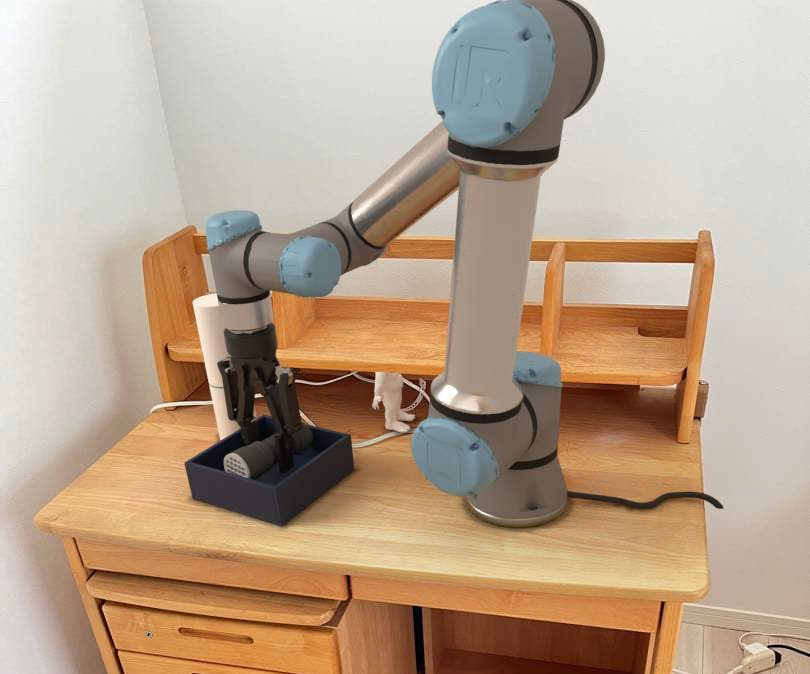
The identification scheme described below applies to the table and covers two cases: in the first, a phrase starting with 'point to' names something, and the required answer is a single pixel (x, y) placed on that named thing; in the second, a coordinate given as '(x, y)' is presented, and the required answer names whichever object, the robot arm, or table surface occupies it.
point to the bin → (271, 475)
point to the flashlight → (263, 454)
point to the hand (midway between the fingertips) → (271, 465)
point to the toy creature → (391, 400)
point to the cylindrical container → (214, 358)
